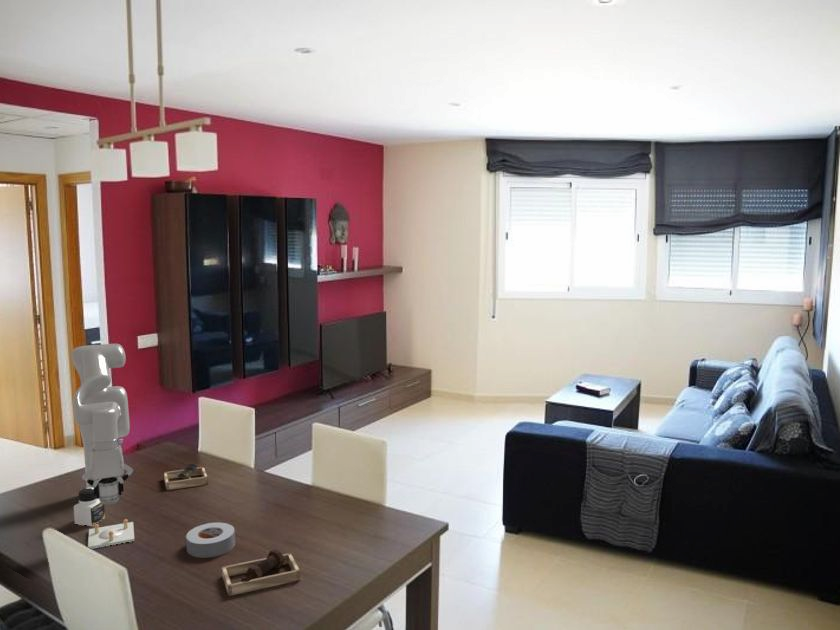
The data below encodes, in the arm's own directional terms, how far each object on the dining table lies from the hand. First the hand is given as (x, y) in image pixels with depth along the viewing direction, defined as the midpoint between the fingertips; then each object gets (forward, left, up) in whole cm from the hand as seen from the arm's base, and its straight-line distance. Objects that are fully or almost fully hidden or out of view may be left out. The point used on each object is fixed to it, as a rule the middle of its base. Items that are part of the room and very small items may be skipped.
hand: (109, 495), depth 222 cm
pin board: (0, 0, -15) cm, 15 cm away
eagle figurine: (-42, +28, -15) cm, 53 cm away
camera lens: (0, 0, -2) cm, 2 cm away
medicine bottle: (-16, -7, -15) cm, 23 cm away
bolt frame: (+48, +41, -15) cm, 65 cm away
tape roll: (+21, +30, -15) cm, 40 cm away
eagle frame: (-41, +28, -15) cm, 52 cm away
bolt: (+48, +41, -14) cm, 65 cm away
